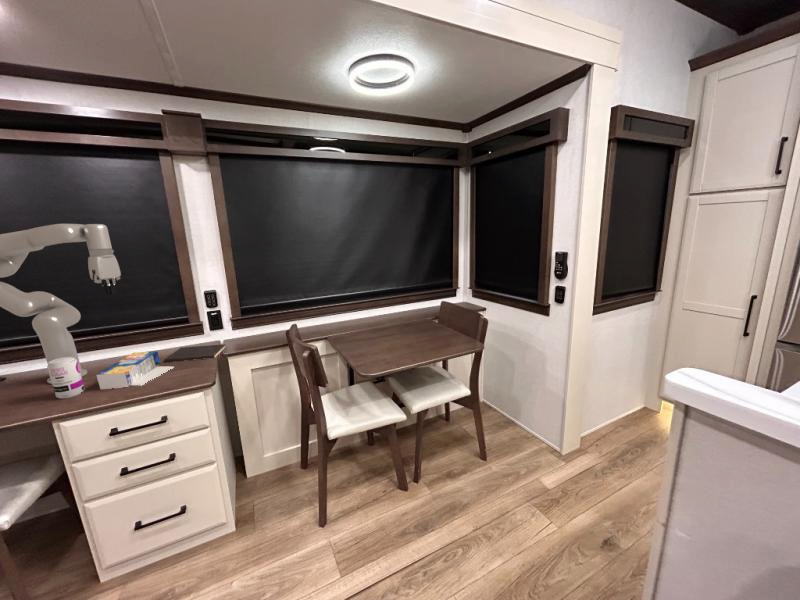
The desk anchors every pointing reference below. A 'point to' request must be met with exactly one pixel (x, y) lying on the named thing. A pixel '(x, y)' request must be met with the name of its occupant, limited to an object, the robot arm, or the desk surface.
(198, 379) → the desk surface
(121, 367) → the beverage box
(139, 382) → the mat
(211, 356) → the hardcover book
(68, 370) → the supplement can
